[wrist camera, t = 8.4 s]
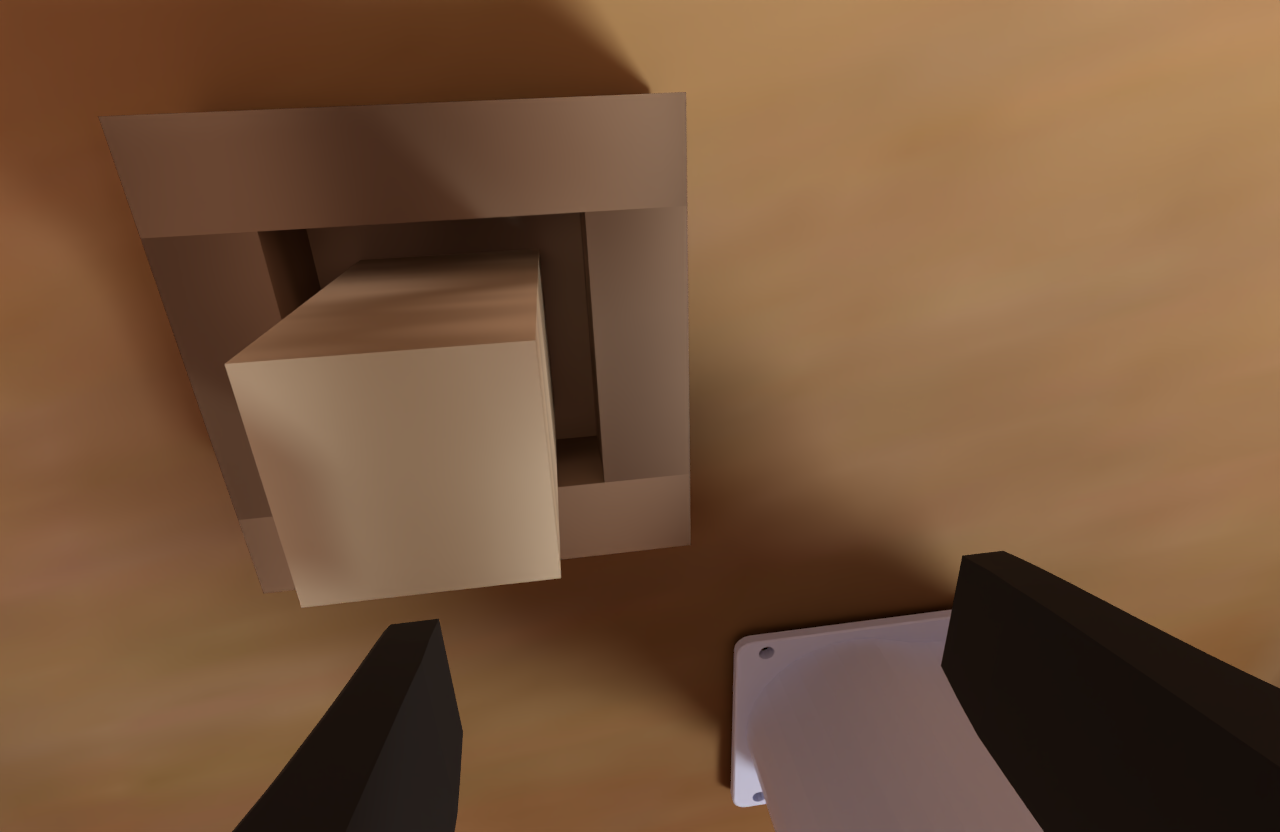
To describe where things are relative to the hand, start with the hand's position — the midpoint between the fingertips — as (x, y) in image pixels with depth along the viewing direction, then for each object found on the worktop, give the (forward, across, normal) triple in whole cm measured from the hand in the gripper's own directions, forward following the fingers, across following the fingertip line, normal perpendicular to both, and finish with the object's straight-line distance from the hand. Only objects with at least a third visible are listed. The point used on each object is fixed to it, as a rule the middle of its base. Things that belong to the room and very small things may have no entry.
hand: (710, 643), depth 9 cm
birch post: (+9, +4, -2) cm, 10 cm away
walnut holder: (+9, +4, -2) cm, 10 cm away
